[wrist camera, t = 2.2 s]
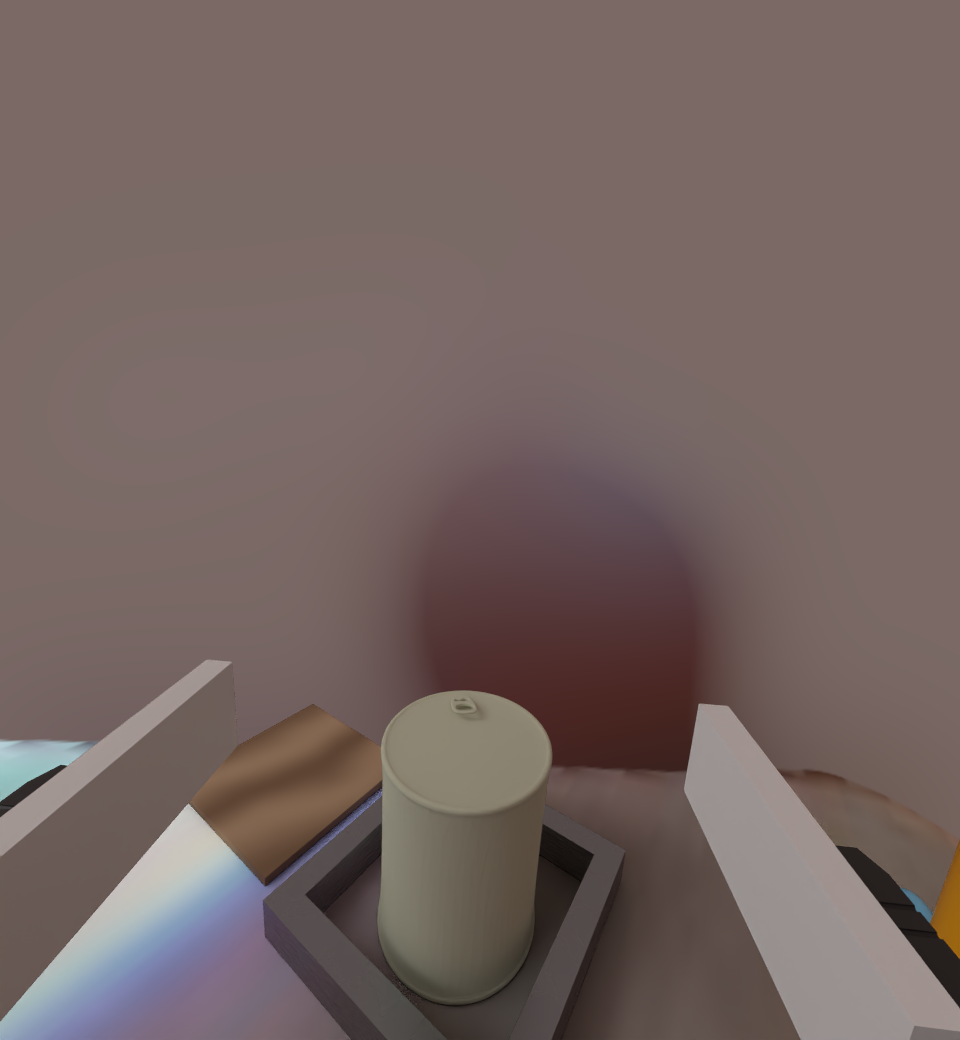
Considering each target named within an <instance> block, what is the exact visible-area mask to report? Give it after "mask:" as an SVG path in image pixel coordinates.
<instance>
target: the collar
mask: <svg viewBox="0 0 960 1040" xmlns="http://www.w3.org/2000/svg"><path fill="white" fill-rule="evenodd" d="M625 852H626V850H625V849H623V848H621V847H619V846H617V845H616V844H614V843H612V842H610V841H609V840H607V839H605V838H603V837H602V836H600V835H598V834H596V833H595V832H593V831H591V830H589V829H588V828H586V827H584V826H582V825H581V824H579V823H577V822H575V821H574V820H572V819H570V818H568V817H567V816H565V815H563V814H561V813H560V812H558V811H556V810H554V809H552V808H551V807H549V806H547V805H545V808H544V816H543V824H542V833H541V842H540V851H539V854H540V855H541V856H543V857H544V858H546V859H547V860H549V861H551V862H552V863H554V864H555V865H557V866H558V867H560V868H561V869H563V870H565V871H566V872H568V873H569V874H571V875H572V876H574V877H575V878H577V879H579V880H580V881H582V882H581V884H580V887H579V889H578V891H577V893H576V895H575V897H574V899H573V902H572V904H571V906H570V908H569V910H568V912H567V915H566V917H565V919H564V921H563V923H562V925H561V927H560V930H559V932H558V934H557V936H556V938H555V940H554V943H553V945H552V947H551V949H550V951H549V953H548V955H547V958H546V960H545V962H544V964H543V966H542V968H541V971H540V973H539V975H538V977H537V979H536V981H535V983H534V986H533V988H532V990H531V992H530V994H529V996H528V998H527V1001H526V1003H525V1005H524V1007H523V1009H522V1011H521V1014H520V1016H519V1018H518V1020H517V1022H516V1024H515V1026H514V1029H513V1031H512V1033H511V1035H510V1037H509V1039H508V1040H561V1039H562V1036H563V1034H564V1031H565V1028H566V1026H567V1023H568V1020H569V1018H570V1015H571V1012H572V1010H573V1007H574V1004H575V1002H576V999H577V996H578V994H579V991H580V988H581V986H582V983H583V980H584V978H585V975H586V972H587V970H588V967H589V964H590V962H591V959H592V957H593V954H594V951H595V949H596V946H597V943H598V941H599V938H600V935H601V933H602V930H603V927H604V925H605V922H606V919H607V917H608V914H609V911H610V909H611V906H612V903H613V901H614V898H615V895H616V893H617V890H618V887H619V885H620V882H621V876H622V870H623V864H624V858H625ZM381 853H382V796H381V797H380V798H379V799H378V800H377V801H376V802H375V803H373V804H372V805H371V806H370V807H369V808H368V809H367V810H365V811H364V812H363V813H362V814H361V815H360V816H359V817H357V818H356V819H355V820H354V821H353V822H352V823H351V824H349V825H348V826H347V827H346V828H345V829H344V830H343V831H342V832H340V833H339V834H338V835H337V836H336V837H335V838H334V839H332V840H331V841H330V842H329V843H328V844H327V845H326V846H324V847H323V848H322V849H321V850H320V851H319V852H318V853H316V854H315V855H314V856H313V857H312V858H311V859H310V860H308V861H307V862H306V863H305V864H304V865H303V866H302V867H301V868H299V869H298V870H297V871H296V872H295V873H294V874H293V875H291V876H290V877H289V878H288V879H287V880H286V881H285V882H283V883H282V884H281V885H280V886H279V887H278V888H277V889H275V890H274V891H273V892H272V893H271V894H270V895H269V896H268V897H266V898H265V899H264V900H263V909H264V927H265V937H266V938H267V939H268V941H269V942H270V943H271V944H272V945H273V947H274V948H275V949H276V950H277V951H278V953H279V954H280V955H281V956H282V957H283V958H284V960H285V961H286V962H287V963H288V964H289V966H290V967H291V968H292V969H293V970H294V972H295V973H296V974H297V975H298V976H299V978H300V979H301V980H302V981H303V982H304V983H305V985H306V986H307V987H308V988H309V989H310V991H311V992H312V993H313V994H314V995H315V997H316V998H317V999H318V1000H319V1001H320V1003H321V1004H322V1005H323V1006H324V1007H325V1008H326V1010H327V1011H328V1012H329V1013H330V1014H331V1016H332V1017H333V1018H334V1019H335V1020H336V1022H337V1023H338V1024H339V1025H340V1026H341V1028H342V1029H343V1030H344V1031H345V1032H346V1033H347V1035H348V1036H349V1037H350V1038H351V1039H352V1040H448V1039H447V1038H446V1037H445V1036H444V1035H443V1034H442V1033H441V1032H440V1031H439V1030H438V1029H437V1028H436V1027H435V1026H434V1025H433V1024H432V1023H431V1022H430V1021H429V1020H428V1019H427V1018H426V1017H425V1016H424V1015H423V1014H422V1013H421V1012H420V1011H419V1010H418V1009H417V1008H416V1007H415V1006H414V1005H413V1004H412V1003H411V1002H410V1001H409V1000H408V999H407V998H406V997H405V996H404V995H403V994H402V993H401V992H400V991H399V990H398V989H397V988H396V987H395V986H394V985H393V984H392V983H391V982H390V981H389V980H388V979H387V978H386V977H385V976H384V974H383V973H382V972H381V971H380V970H379V969H378V968H377V967H376V966H375V965H374V964H373V963H372V962H371V961H370V960H369V959H368V958H367V957H366V956H365V955H364V954H363V953H362V952H361V951H360V950H359V949H358V948H357V947H356V946H355V945H354V944H353V943H352V942H351V941H350V940H349V939H348V938H347V937H346V936H345V935H344V934H343V933H342V932H341V931H340V930H339V929H338V928H337V927H336V926H335V925H334V924H333V923H332V922H331V921H330V920H329V919H328V918H327V917H326V916H325V915H324V914H323V912H324V911H325V910H326V909H327V908H328V907H329V906H330V905H331V904H332V903H333V902H334V901H335V900H336V899H337V898H338V897H339V896H340V895H341V894H342V893H343V892H344V891H345V890H346V889H347V888H348V887H349V886H350V885H351V884H352V883H353V882H354V881H355V880H356V879H357V878H358V877H359V876H360V875H361V874H362V873H363V872H364V871H365V870H366V868H367V867H368V866H369V865H370V864H371V863H372V862H373V861H374V860H375V859H376V858H377V857H378V856H379V855H380V854H381Z"/></svg>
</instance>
